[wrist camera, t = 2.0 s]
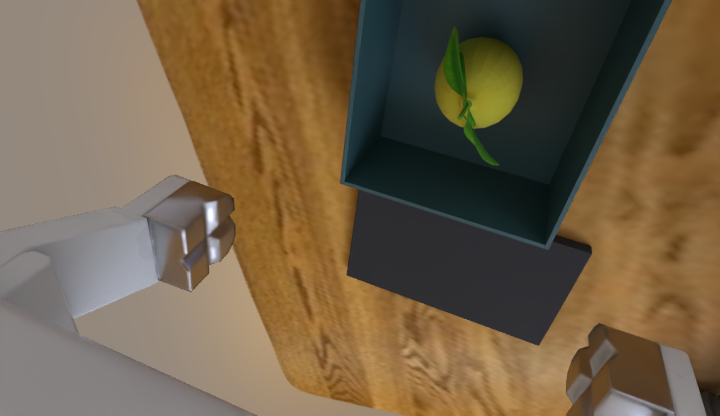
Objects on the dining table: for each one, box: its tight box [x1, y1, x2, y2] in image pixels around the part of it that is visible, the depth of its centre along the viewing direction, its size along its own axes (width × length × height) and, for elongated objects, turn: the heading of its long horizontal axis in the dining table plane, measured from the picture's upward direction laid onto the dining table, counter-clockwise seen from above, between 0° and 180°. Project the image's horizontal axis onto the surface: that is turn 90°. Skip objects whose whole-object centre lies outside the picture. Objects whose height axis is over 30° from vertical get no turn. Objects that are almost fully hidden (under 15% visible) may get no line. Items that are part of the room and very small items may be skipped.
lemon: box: [434, 26, 523, 165], centre depth 28 cm, size 7×6×10 cm
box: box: [340, 0, 672, 250], centre depth 29 cm, size 16×15×8 cm
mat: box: [347, 190, 592, 346], centre depth 42 cm, size 20×12×1 cm, turn 83°
